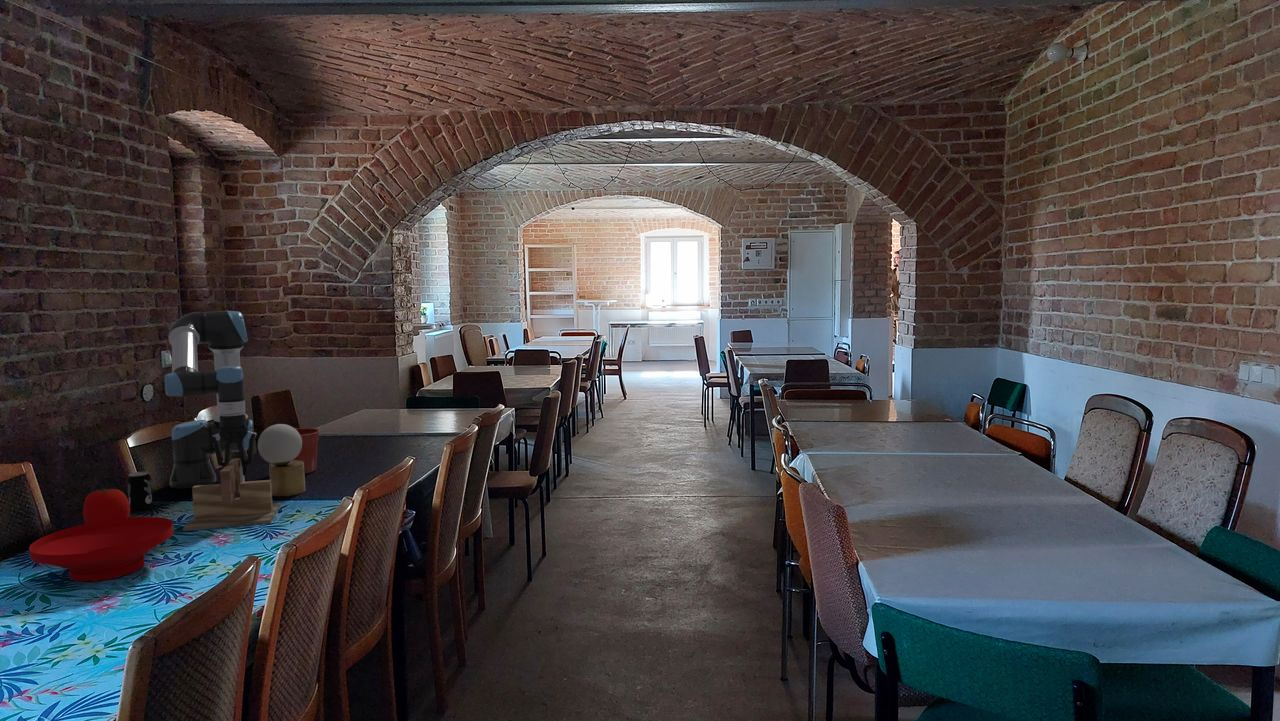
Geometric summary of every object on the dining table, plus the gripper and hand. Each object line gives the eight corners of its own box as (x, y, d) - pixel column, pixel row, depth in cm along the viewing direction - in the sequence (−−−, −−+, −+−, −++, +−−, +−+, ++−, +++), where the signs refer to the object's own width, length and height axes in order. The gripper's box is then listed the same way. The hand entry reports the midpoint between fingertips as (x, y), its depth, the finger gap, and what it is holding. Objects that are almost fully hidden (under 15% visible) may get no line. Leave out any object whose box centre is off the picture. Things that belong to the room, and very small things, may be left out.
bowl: (202, 557, 209) (199, 521, 208) (90, 600, 180) (86, 559, 179) (120, 546, 218) (118, 512, 218) (2, 586, 190) (-2, 546, 189)
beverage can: (141, 512, 252) (138, 476, 251) (124, 511, 254) (121, 475, 253) (158, 506, 259) (155, 471, 258) (141, 505, 260) (138, 470, 259)
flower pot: (311, 476, 298) (309, 435, 296) (269, 476, 298) (266, 436, 297) (329, 466, 314) (326, 427, 313) (289, 467, 315) (286, 428, 313)
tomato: (74, 537, 227) (70, 490, 226) (112, 526, 238) (108, 481, 236) (104, 541, 223) (100, 493, 222) (141, 529, 233) (138, 484, 232)
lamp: (283, 501, 263) (279, 428, 261) (251, 498, 268) (246, 426, 265) (315, 489, 278) (312, 421, 275) (284, 487, 282) (280, 419, 280)
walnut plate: (234, 489, 252) (232, 458, 251) (242, 488, 253) (241, 458, 252) (222, 503, 235) (220, 471, 234) (231, 502, 236) (229, 470, 235)
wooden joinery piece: (199, 512, 251) (197, 479, 250) (280, 505, 258) (278, 473, 257) (183, 531, 232) (180, 495, 231) (270, 522, 239) (268, 488, 238)
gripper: (202, 417, 242) (207, 490, 245) (257, 414, 247) (261, 486, 249) (208, 413, 250) (213, 485, 252) (261, 410, 254) (265, 480, 256)
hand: (237, 485), depth 251 cm, fingers closed on walnut plate, 2 cm apart
